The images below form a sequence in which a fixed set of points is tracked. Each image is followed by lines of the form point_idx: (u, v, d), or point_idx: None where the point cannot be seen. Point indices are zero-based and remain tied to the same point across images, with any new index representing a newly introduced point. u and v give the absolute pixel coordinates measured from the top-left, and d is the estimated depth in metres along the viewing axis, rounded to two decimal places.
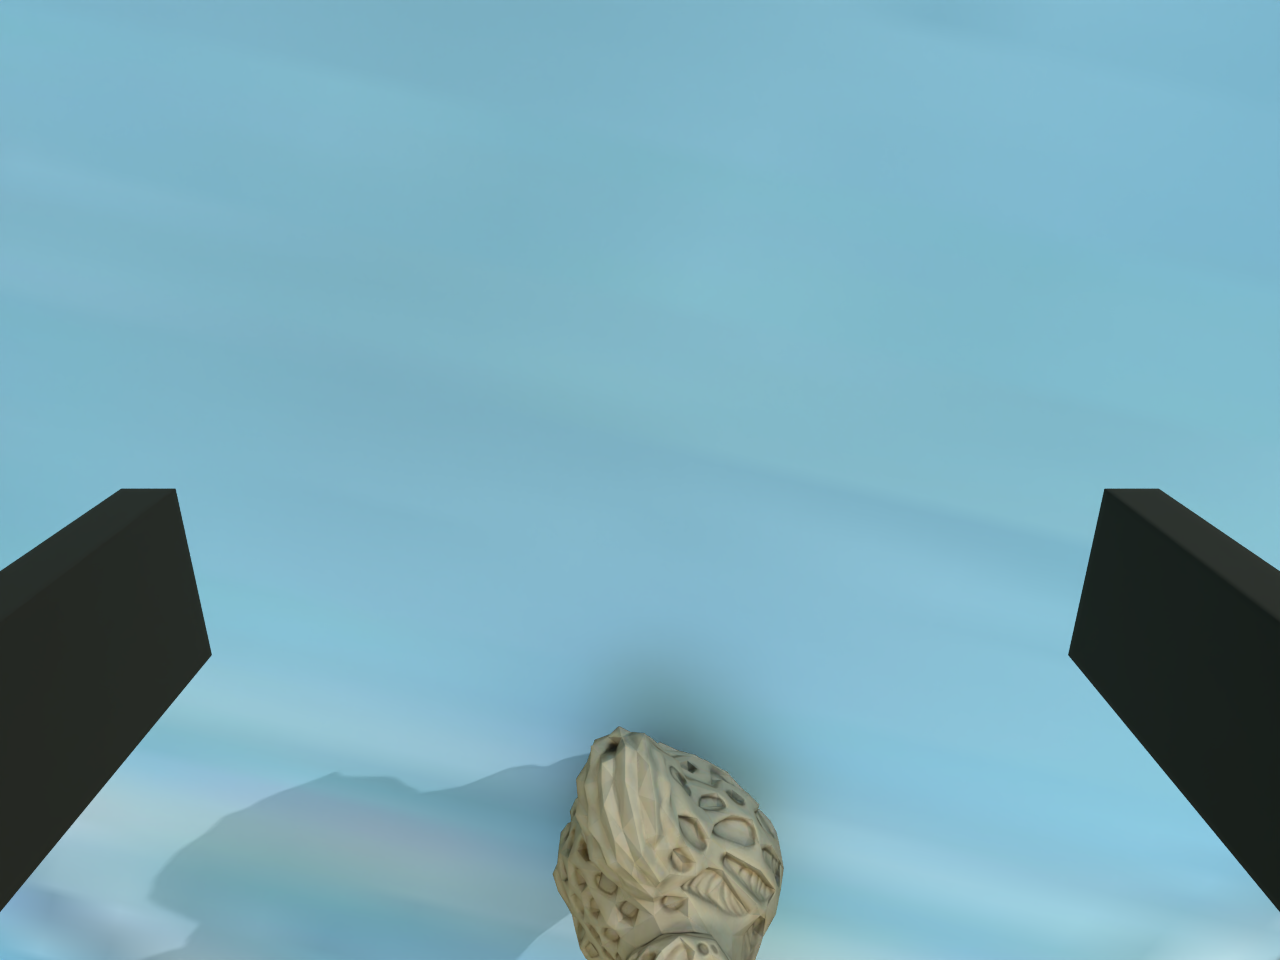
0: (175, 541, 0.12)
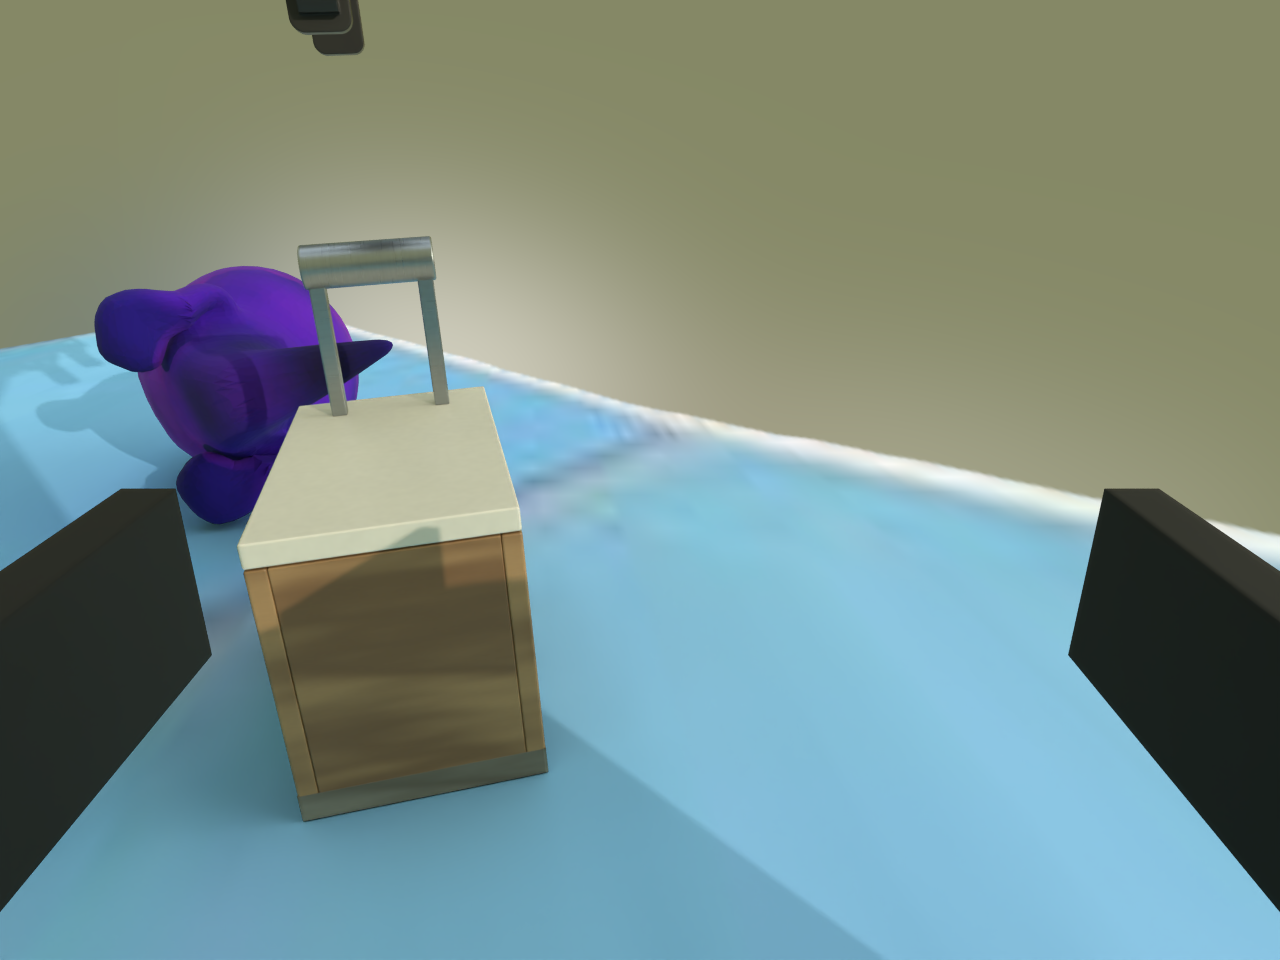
0: (176, 541, 0.12)
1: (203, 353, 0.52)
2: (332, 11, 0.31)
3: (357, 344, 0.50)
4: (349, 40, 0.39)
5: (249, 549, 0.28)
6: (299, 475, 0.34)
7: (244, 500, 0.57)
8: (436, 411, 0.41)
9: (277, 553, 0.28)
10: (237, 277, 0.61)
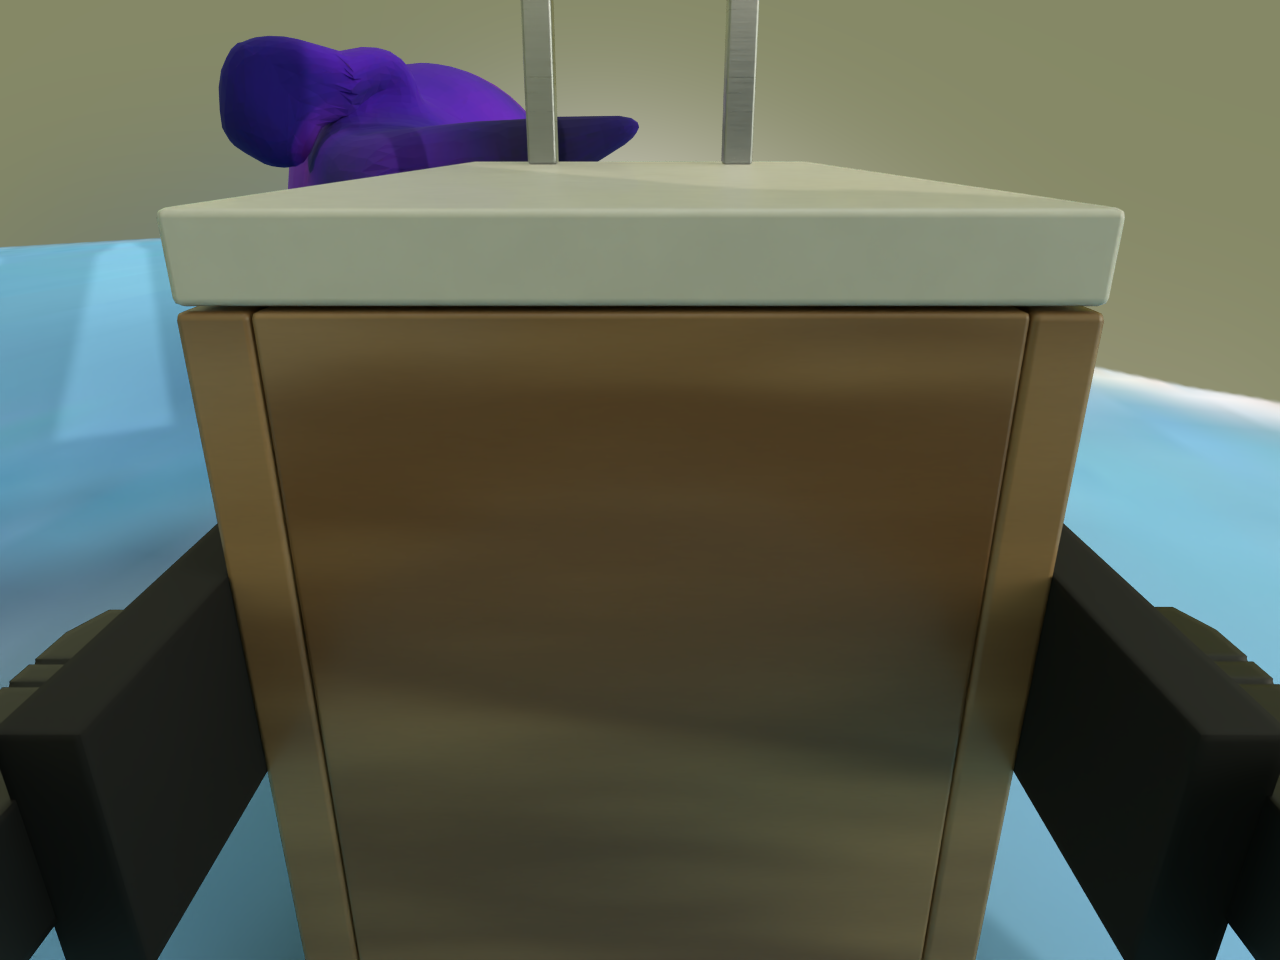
0: None
1: (357, 135, 0.35)
2: None
3: (583, 120, 0.31)
4: None
5: (195, 230, 0.08)
6: (431, 179, 0.14)
7: None
8: None
9: (284, 260, 0.08)
10: (429, 67, 0.43)
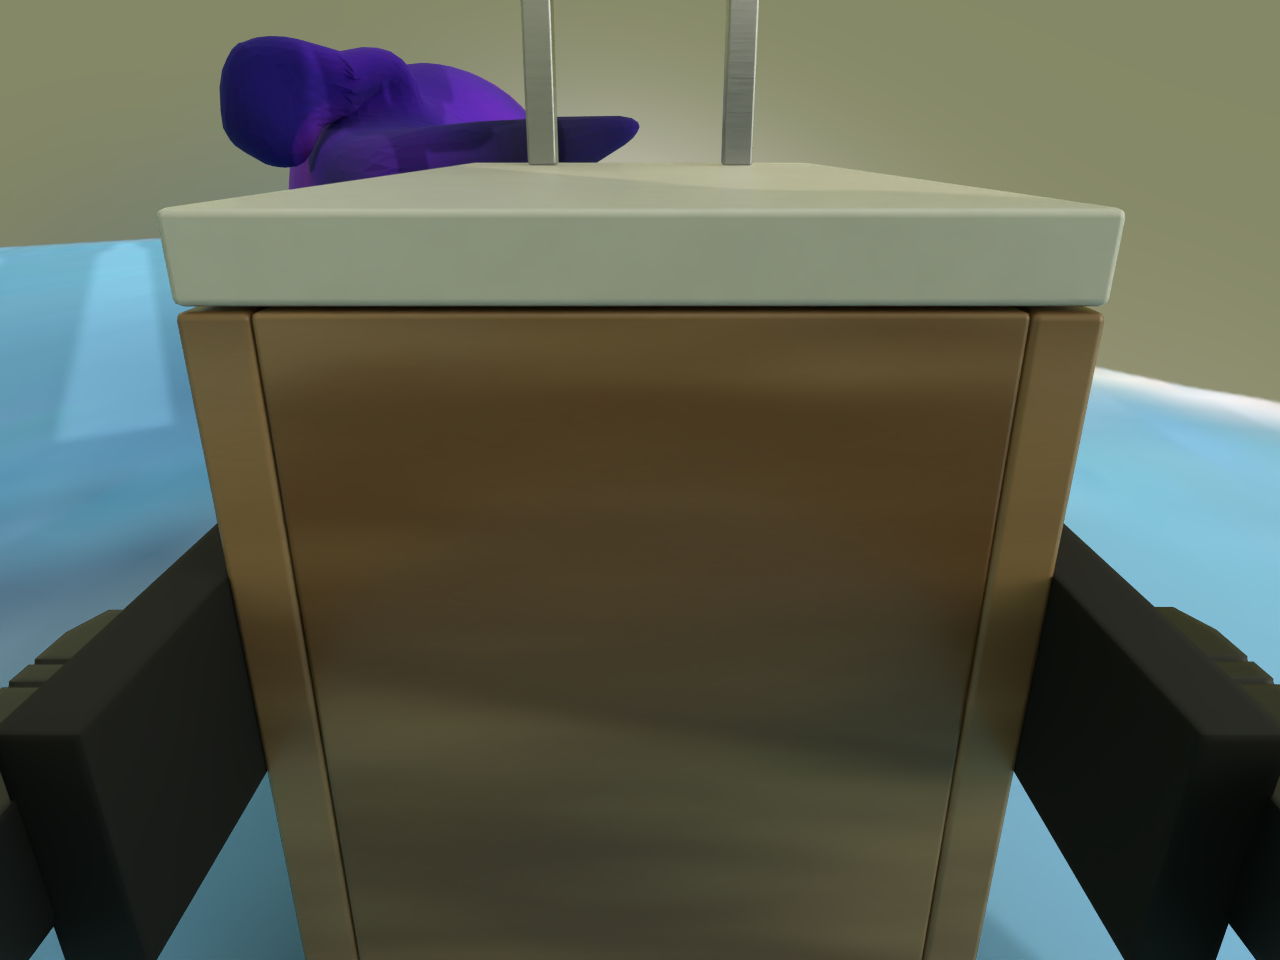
0: None
1: (358, 135, 0.35)
2: None
3: (583, 120, 0.31)
4: None
5: (195, 230, 0.08)
6: (431, 179, 0.14)
7: None
8: None
9: (285, 260, 0.08)
10: (429, 67, 0.43)
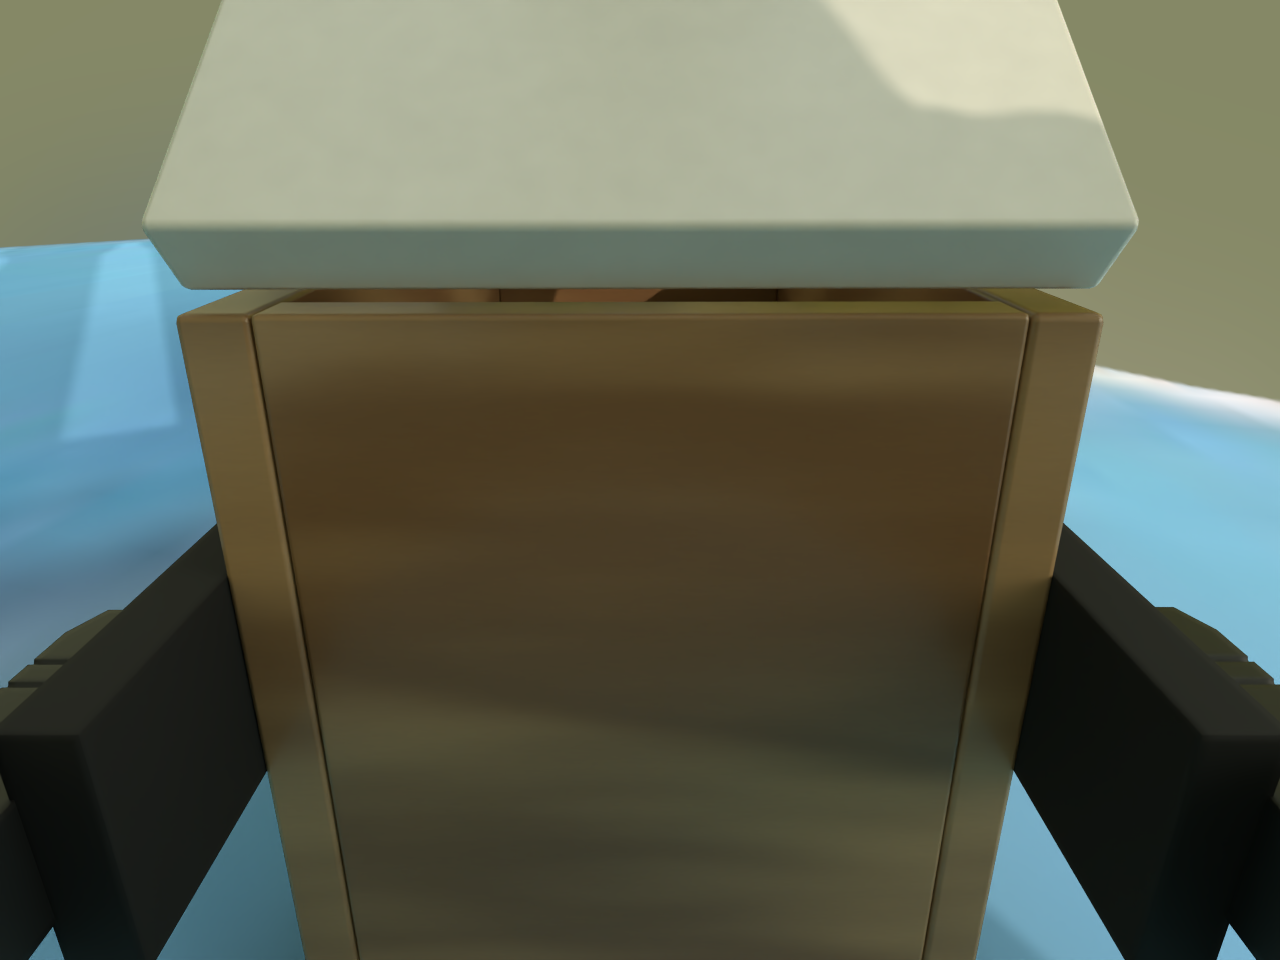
0: None
1: None
2: None
3: None
4: None
5: (186, 240, 0.08)
6: None
7: None
8: None
9: (284, 261, 0.08)
10: None
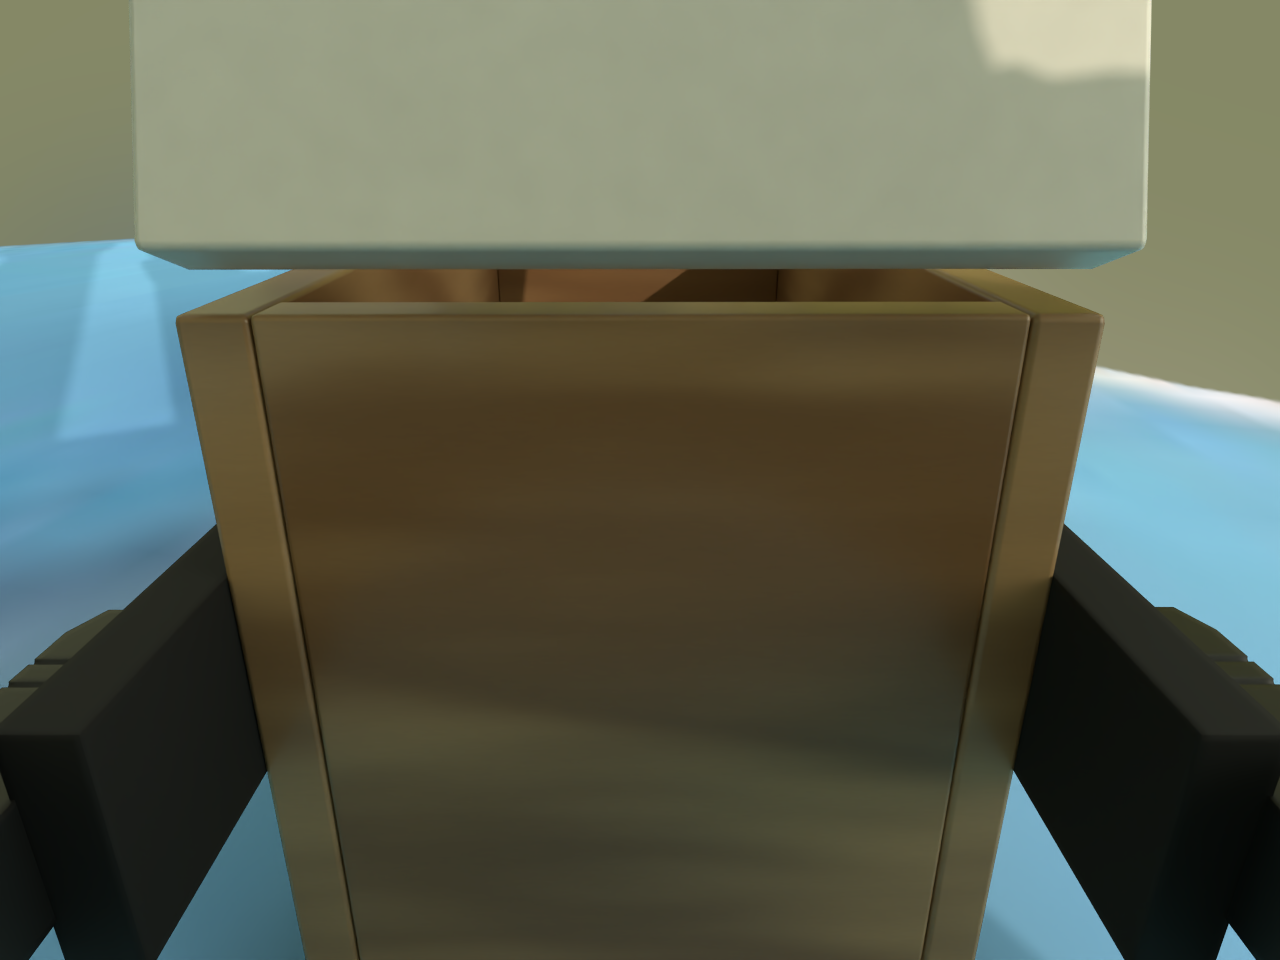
0: None
1: None
2: None
3: None
4: None
5: (183, 254, 0.08)
6: None
7: None
8: None
9: (284, 261, 0.08)
10: None
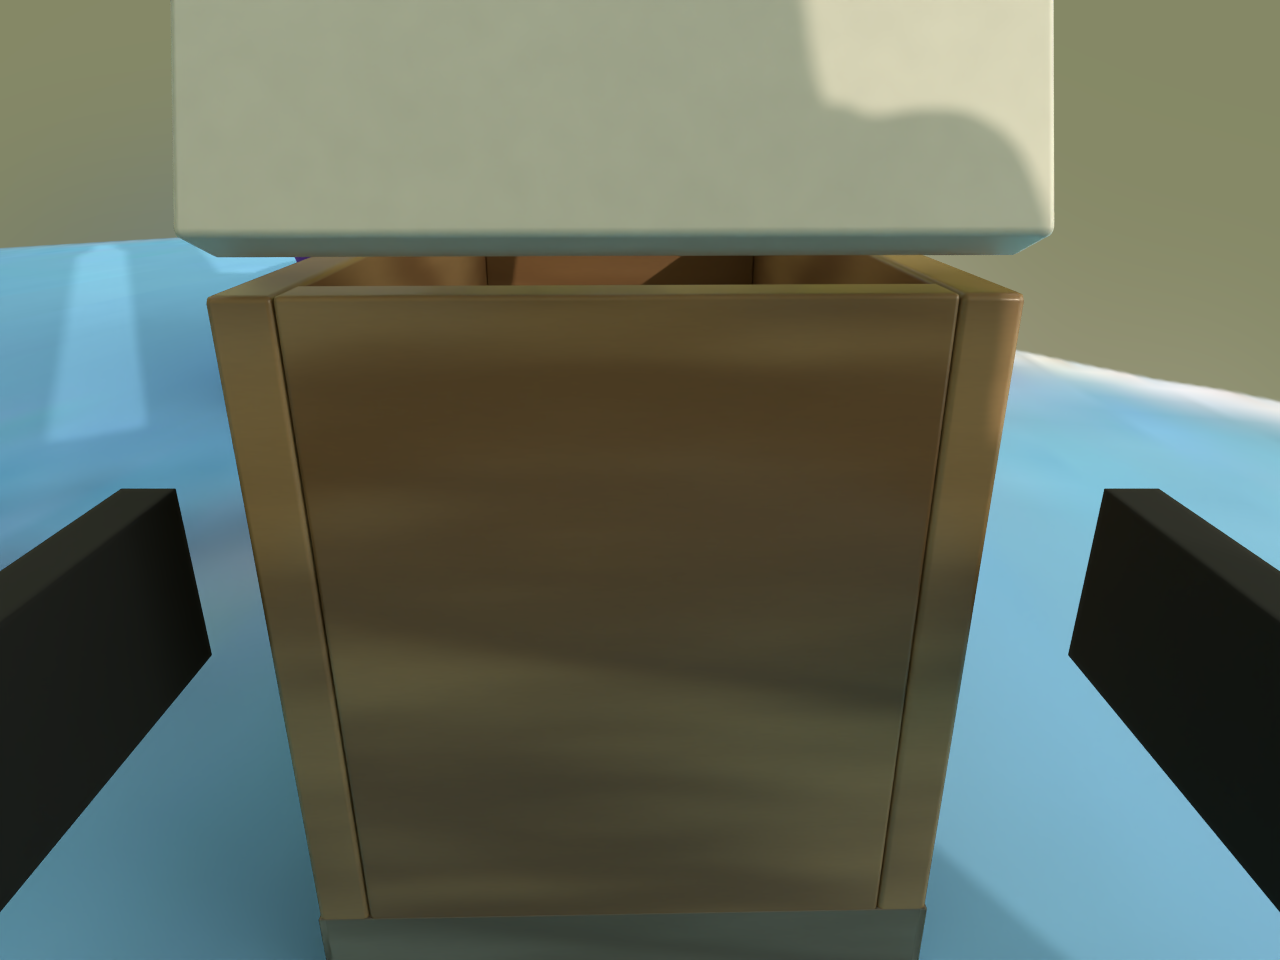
0: (175, 541, 0.12)
1: None
2: None
3: None
4: None
5: (216, 241, 0.09)
6: None
7: None
8: None
9: (303, 248, 0.09)
10: None
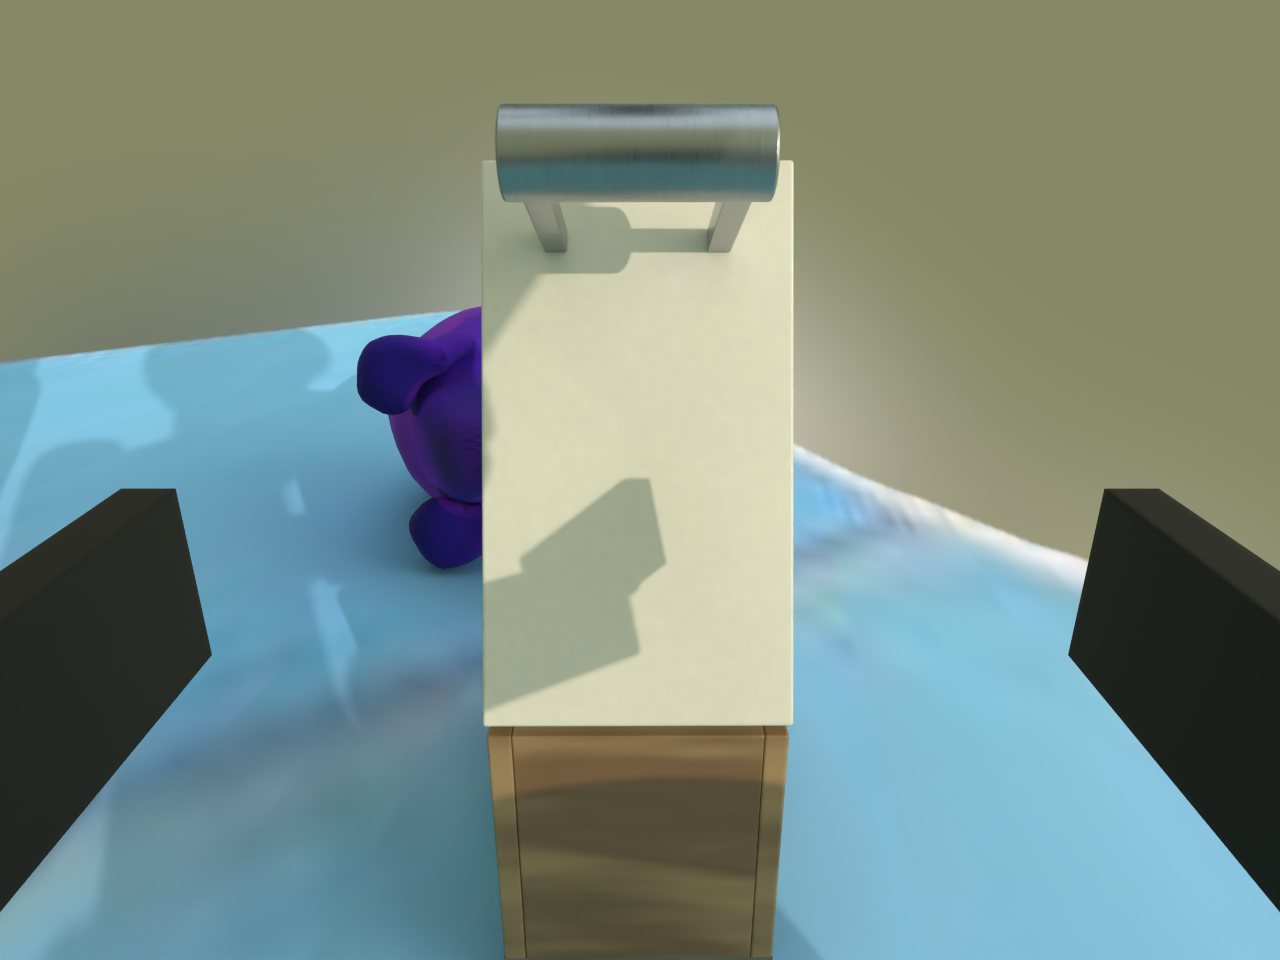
0: (176, 541, 0.12)
1: (451, 406, 0.52)
2: None
3: None
4: None
5: None
6: (524, 520, 0.25)
7: (469, 549, 0.57)
8: (708, 292, 0.25)
9: None
10: None
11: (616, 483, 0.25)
